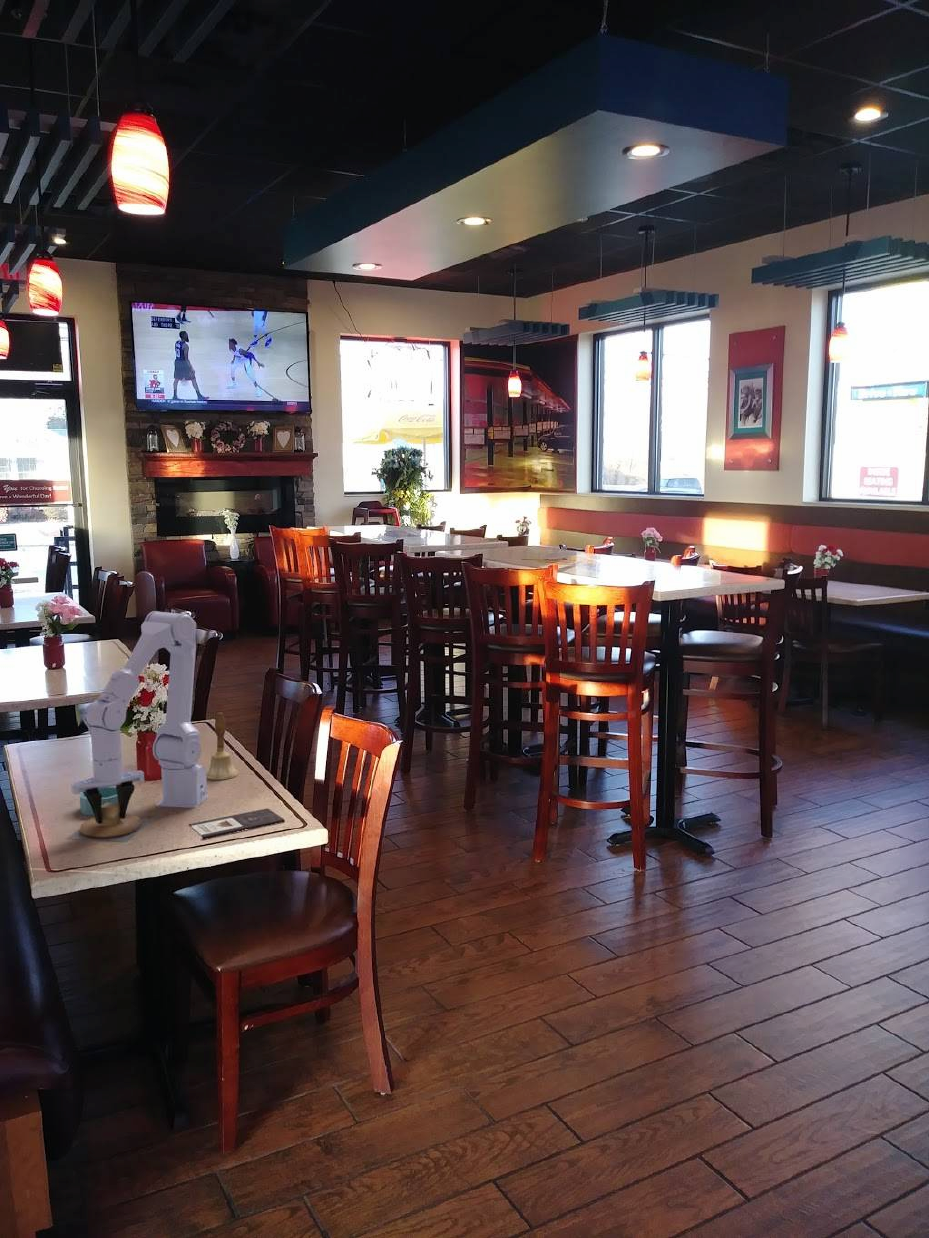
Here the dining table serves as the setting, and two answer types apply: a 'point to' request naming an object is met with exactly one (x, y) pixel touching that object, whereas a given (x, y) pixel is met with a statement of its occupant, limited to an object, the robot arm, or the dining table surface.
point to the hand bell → (220, 755)
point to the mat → (121, 838)
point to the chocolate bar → (236, 823)
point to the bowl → (107, 797)
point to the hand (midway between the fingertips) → (110, 819)
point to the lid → (110, 823)
